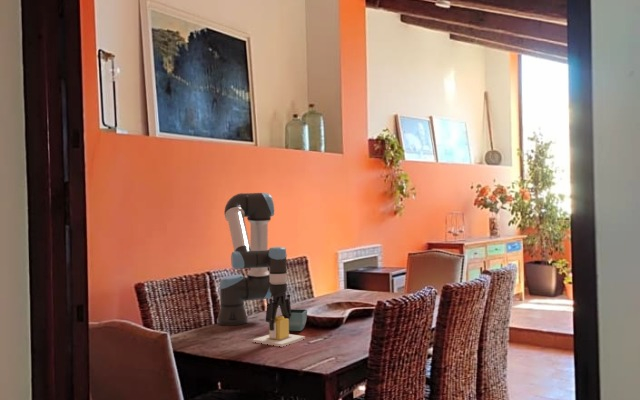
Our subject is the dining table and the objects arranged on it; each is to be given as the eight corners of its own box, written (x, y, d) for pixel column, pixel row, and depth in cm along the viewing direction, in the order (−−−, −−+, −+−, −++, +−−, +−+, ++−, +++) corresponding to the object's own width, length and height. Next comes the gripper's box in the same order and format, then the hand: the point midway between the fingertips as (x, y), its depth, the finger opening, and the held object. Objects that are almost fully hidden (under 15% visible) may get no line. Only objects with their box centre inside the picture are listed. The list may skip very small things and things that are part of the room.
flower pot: (284, 331, 270) (284, 312, 270) (290, 327, 278) (289, 308, 278) (303, 332, 268) (302, 313, 268) (307, 328, 276) (307, 309, 276)
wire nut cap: (278, 335, 257) (277, 314, 257) (289, 337, 254) (288, 315, 254) (269, 338, 252) (269, 316, 252) (280, 339, 249) (279, 318, 249)
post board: (276, 334, 264) (276, 322, 264) (305, 339, 255) (304, 326, 255) (253, 342, 251) (252, 328, 251) (282, 347, 242) (281, 333, 242)
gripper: (285, 279, 264) (286, 330, 264) (256, 285, 247) (257, 339, 247) (299, 280, 259) (300, 332, 259) (269, 286, 243) (270, 341, 243)
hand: (279, 335), depth 253 cm, fingers open, 7 cm apart
